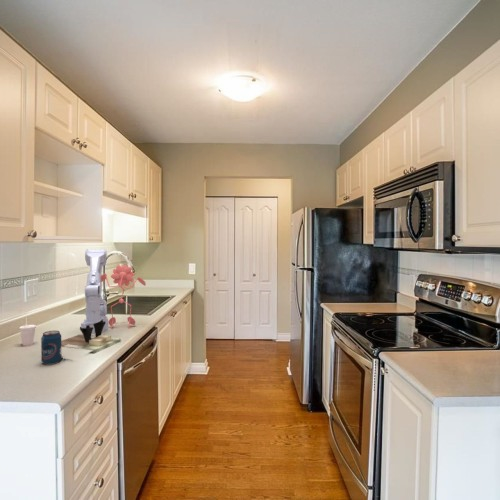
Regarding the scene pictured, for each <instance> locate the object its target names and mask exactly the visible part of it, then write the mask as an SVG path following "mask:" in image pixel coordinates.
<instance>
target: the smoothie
mask: <svg viewBox="0 0 500 500" xmlns="http://www.w3.org/2000/svg"><path fill="white" fill-rule="evenodd" d="M36 329H37V325H36V324H28V316H25V325H22V326H19V331H20V337H21V343H22V347H23V346H24V347H28V346H32V345H33V344H34V341H35V333H36Z"/></svg>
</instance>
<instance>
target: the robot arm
mask: <svg viewBox="0 0 500 500" xmlns="http://www.w3.org/2000/svg"><path fill="white" fill-rule="evenodd" d="M84 253H85V254H84V259H85V262H86V266H87V267H90V268H89V269H90V272H89V273H87V277H86V285H85V287H84V298H85V310H84V311H85V313H84V314H85V317H86V318H85V319H84V320H83V322H82V323H80V326H79V330H80V332H81V333H82V335H83V336H84V339H85V342H89V340H91V338H92V334H95V335H94V337H98V336H100V335H103V332H105V331H109V318H108V316H107V315H108V305H107V301H106V299H104V298H102V282H101V275H102V269H103V267H104V266H106V265H107V258H108V257H107V249H106V248H105V249H102V248H101V249H96V248H94V249H93V248H91V249H88V248H86V249H85V252H84Z"/></svg>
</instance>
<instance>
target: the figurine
mask: <svg viewBox="0 0 500 500" xmlns="http://www.w3.org/2000/svg"><path fill="white" fill-rule="evenodd" d="M132 270H133V267H132V266H128V265H127V264H123V265H122V266H121V265H120V264H117V265H116V268H113V269H112V274H111V275H110V278H112V279H113V283H114V284H117V285H111V286H110V284H109V279H108V275H107V273H105V272H104V273H103V274H101V283H103V282H104V281H106V282H107V285H108V287H109V288H116V287H119V288H121V289H122V294H121V297H120V299H118V301H117V302H116V303H114V304H112V305H111V306H110V312H111V317H110V318H109V319H108V326H110V327H111V330H112V329H113V326H114V325H115V324H116V323H117V322H116V321H117V319H116V317H114V316H113V308H112V307H114V306H116V305H117V304H123V303H125V304H127V305H128V306H130V311H129V316H128V317H127V322H129V323H128V327H127V328H128V329H130V324H131V325H132V326H135V325H136V320H135V318H133V317H132V316H131V315H132V314H131V313H132V312H131V311H132V305H131V304H130V303H128V302H126V301H125V300H124V299H123V297H124V292H125V289H129V290H131V289H132V287H133V286H134V284H136V282H137V281H138V282H139V283H140V284H141V285H143V286H146V281H145V280H144V279H143V278H142V277H139V276H137V278H136V279H135V281H134V276H135V273H134V272H133V271H132ZM130 282H133V283H132V284H131V285H130ZM124 285H125V286H124ZM128 286H130V287H128ZM123 323H126V322H125V321H122V322H121V324H123Z"/></svg>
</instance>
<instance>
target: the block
mask: <svg viewBox="0 0 500 500" xmlns="http://www.w3.org/2000/svg"><path fill="white" fill-rule="evenodd" d="M92 338H93V337H92ZM111 338H112V335H111V334H101V335H100V336H98V337H96V336H94V338H93V339H91V340H89V346H98V347H100V346H102V345H103V344H105V343H107V342H109V341H111Z"/></svg>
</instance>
